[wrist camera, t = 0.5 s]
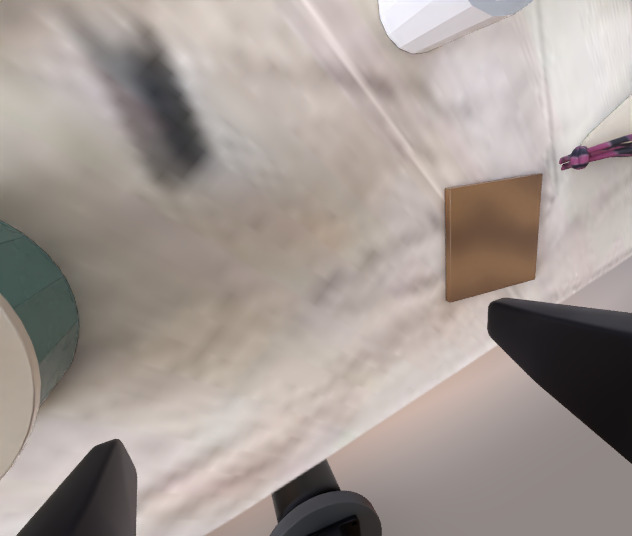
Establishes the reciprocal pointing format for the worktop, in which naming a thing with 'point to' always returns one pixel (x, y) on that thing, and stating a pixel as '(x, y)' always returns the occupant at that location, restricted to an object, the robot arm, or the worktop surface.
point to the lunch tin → (39, 304)
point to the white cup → (440, 20)
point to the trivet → (491, 235)
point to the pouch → (605, 139)
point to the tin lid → (16, 386)
